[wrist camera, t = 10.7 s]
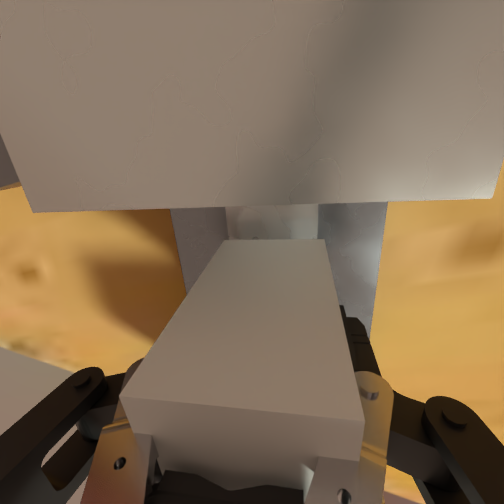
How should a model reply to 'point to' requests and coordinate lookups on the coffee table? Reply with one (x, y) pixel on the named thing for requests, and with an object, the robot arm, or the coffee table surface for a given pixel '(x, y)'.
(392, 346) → the coffee table surface
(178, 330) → the block
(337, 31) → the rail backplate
